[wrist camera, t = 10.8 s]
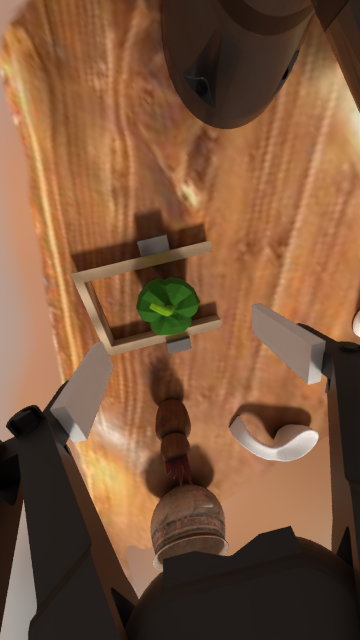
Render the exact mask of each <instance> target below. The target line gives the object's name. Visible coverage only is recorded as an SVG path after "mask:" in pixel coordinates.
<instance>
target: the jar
mask: <svg viewBox="0 0 360 640" xmlns="http://www.w3.org/2000/svg"><path fill="white" fill-rule="evenodd" d="M353 331H354V333H355V334H356V335H357V336H359V337H360V310H359V312H358V313H357V315H356V316H355V318H354V321H353Z"/></svg>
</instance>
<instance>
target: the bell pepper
mask: <svg viewBox="0 0 360 640" xmlns="http://www.w3.org/2000/svg"><path fill="white" fill-rule="evenodd" d="M199 303H200V301H199V298H198V296H197V294H196V292H195V290H194V288H193V287H191V286H190V285H189V284H188V283H186V282H185V281H184V280H183V279H181V278H177V277H168V278H166V279H165V280H164V279H161V278H157V279H154V280H152V281H150V282H148V283H147V284H146V285H145V287H144V288H143V289H142V291H141V292H140V294H139V297H138V302H137V307H136V309H137V311H138V313H139V315H140V317H141V319H142V320H143V321H146V322H150V327H151V330H153V331H154V332H155V333H156V334H158V335H160V336H161V335H173V334H177V333H182V332H185V331H186V330H187V328H188V327H189V326H190V325H191V324H192V319H191V316H193V315H194V314H195V313H196V312H197V309H198V306H199Z"/></svg>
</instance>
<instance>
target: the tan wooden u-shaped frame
mask: <svg viewBox="0 0 360 640" xmlns="http://www.w3.org/2000/svg"><path fill="white" fill-rule="evenodd" d="M137 244H138V247H139V251H140V254H141V257H139V258H134V259H130V260H126V261H122V262H118V263H113V264H109V265H105V266H101V267H97V268H93V269H88V270H84V271H80V272H76V273H73V274H71V276H72V278H73V280H74V283H75V285H76V287H77V289H78V291H79V294H80V296H81V298H82V300H83V303H84V305H85V307H86V309H87V311H88V314H89V316H90V318H91V320H92V323H93V325H94V327H95V329H96V331H97V334H98V336H99V338H100V340H101V342H103V344H104V346H105V349H106V351H107V353H108V355H109V356H111V355H115V354H119V353H123V352H127V351H131V350H134V349H138V348H142V347H146V346H150V345H154V344H158V343H162V342H166V344H167V348H168V351H169V354H172V353H176V352H180V351H184V350H188V349H191V348H192V346H191V342H190V338H189V335H193V334H197V333H201V332H205V331H209V330H213V329H217V328H221V327H222V322H221V319H220V318H219V316H218V315H217V314H216V315H212V316H208V317H204V318H200V319H196V320H192V324H191V325H190V326H189V327H188V328H187V330H186V331H185V332H182V333H177V334H173V335H161V336H160V335H158V334H156V333H155V332H154V331H149V332H145V333H141V334H137V335H133V336H129V337H125V338H121V339H117V340H114V337H113V335H112V332H111V330H110V328H109V325H108V323H107V320H106V318H105V316H104V313H103V311H102V308H101V306H100V303H99V301H98V299H97V296H96V294H95V291H94V289H93V287H92V284H91V282H90V281H92V280H97V279H101V278H105V277H109V276H113V275H117V274H122V273H126V272H130V271H134V270H138V269H142V268H146V267H151V266H155V265H159V264H163V263H167V262H171V261H175V260H180V259H184V258H188V257H192V256H196V255H200V254H204V253H209V252H212V250H211V243H210V241H205V242H201V243H197V244H193V245H189V246H185V247H180V248H176V249H172V250H170V248H169V244H168V240H167V235H164V236H159V237H155V238H151V239H147V240H142V241H138V242H137Z"/></svg>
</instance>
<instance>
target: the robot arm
mask: <svg viewBox="0 0 360 640" xmlns="http://www.w3.org/2000/svg"><path fill="white" fill-rule="evenodd" d="M315 12H316V14H317V16H318V18H319V20H320V23H321V25H322V27H323V29H324V33H325V35H326V37H327V39H328V41H329V43H330V46H331V48H332V50H333V52H334V55H335V57H336V59H337V61H338V64H339V66H340V68H341V71H342V73H343V75H344V78H345V80H346V82H347V85H348V87H349V89H350V92H351V94H352V96H353V98H354V101H355V103H356V105H357V108H358V110H359V112H360V0H349V1H348V0H163V17H162V35H163V47H164V54H165V59H166V63H167V68H168V71H169V74H170V77H171V80H172V82H173V85H174V87H175V89H176V91H177V93H178V95H179V97H180V98H181V100H182V101H183V103H184V104H185V105H186V107H187V108H188V109H189V110H190V111H191V112H192V113H193V114H194V115H195V116H196V117H197V118H198V119H200V120H201V121H202V122H204V123H206V124H208V125H210V126H213V127H216V128H221V129H232V128H237V127H241V126H243V125H245V124H247V123H249V122H251V121H252V120H254V119H255V118H257V117H258V116H259V115H260V114H261V113H262V112H263V111H264V110H265V109H266V108H267V106H268V105H269V104H270V103H271V101H272V100H273V99H274V97H275V96H276V95H277V94H278V92H279V91H280V89H281V88H282V86H283V85H284V83H285V81H286V80H287V78H288V76H289V74H290V72H291V70H292V68H293V66H294V63H295V61H296V59H297V56H298V53H299V50H300V48H301V46H302V44H303V41H304V39H305V36H306V34H307V32H308V29H309V27H310V24H311V22H312V19H313V17H314V14H315ZM252 322H253V333H254V334H255V335H256V336H257V337H258V338H259V339H260V340H261V341H262V342H263V343H264V344H265V345H266V346H267V347H269V348H270V349H271V350H272V351H273V352H274V353H275V354H276V355H277V356H278V357H279V358H280V359H281V360H282V361H283V362H284V363H285V364H286V365H288V366H289V367H290V368H291V369H292V370H293V371H294V372H295V373H296V374H297V375H298V376H299V377H300V378H301V379H302V380H303V381H304V382H306V383H307V384H312V383H316V382H320V381H321V374H323V375H325V376H326V377H327V384H326V391H325V393H327V399H328V422H329V445H330V467H331V489H332V513H333V525H332V551H330V550H328V549H327V548H325V547H323V546H322V545H320V544H318V543H316V542H313V541H311V540H308V539H305V538H302V537H296V536H295V534H294V532H293V530H292V528H291V526H288V527H285V528H281V529H277V530H273V531H269V532H266V533H262V534H259V535H258V536H256V537H255V538H254V539H253V540H251V541H250V542H249V543H247V544H246V545H245V546H244V547H242V548H241V549H240V550H238V551H237V552H236V553H235V554H233V555H231V556H223V555H217V554H211V553H205V552H199V551H192V552H188V553H184V554H180V555H176V556H173V557H169V558H165V559H163V571H162V572H161V573H160V574H159V575H158V576H157V577H156V578H155V579H154V580H153V581H152V582H151V583H150V585H149V586H148V587H147V588H146V590H145V591H144V593H143V594H142V596H141V597H140V599H138V597H137V595H136V593H135V591H134V589H133V587H132V585H131V584H130V582H129V581H128V579H127V577H126V575H125V574H124V572H123V569H122V567H121V565H120V563H119V560H118V558H117V556H116V554H115V551H114V549H113V547H112V545H111V542H110V540H109V538H108V535H107V533H106V531H105V529H104V526H103V524H102V522H101V520H100V517H99V515H98V513H97V510H96V508H95V506H94V504H93V501H92V499H91V497H90V495H89V492H88V490H87V488H86V485H85V483H84V481H83V479H82V476H81V474H80V472H79V470H78V467H77V465H76V463H75V461H74V458H73V456H72V454H71V451H70V449H69V447H68V446H67V444H66V442H67V440H68V438H69V437H70V438H71V440H72V441H73V442H74V443H76V442H80V441H84V440H87V438H88V436H89V433H90V430H91V428H92V425H93V422H94V420H95V417H96V414H97V412H98V409H99V406H100V403H101V401H102V398H103V395H104V393H105V390H106V387H107V385H108V382H109V379H110V376H111V374H112V371H113V368H114V366H113V364H112V362H111V360H110V357H109V355H108V353H107V351H106V349H105V346H104V344H103V342H99V343H94V344H93V345H92V347H91V348H90V350H89V351H88V353H87V354H86V356H85V357H84V359H83V360H82V362H81V363H80V365H79V366H78V368H77V369H76V371H75V372H74V374H73V375H72V377H71V378H70V380H68V381H66V382H65V383H64V384H63V385H62V386H61V387H60V388H59V389H58V391H57V392H56V394H55V395H54V397H53V398H52V400H51V401H50V402H49V404H48V405H47V407H46V408H45V409H44V411H43V412H42V411H41V410H40V409H39V407H38V406H36V405H31V406H28V407H26V408H24V409H22V410H20V411H19V412H17V413H16V414H15V415H14V416H13V417H12V418H11V419H10V420H9V421H8V422H7V425H6V427H7V428H8V429H9V430H10V432H11V433H12V434H13V435H14V436H15V437H13V438H11V439H9V440H7V441H5V442H2V441H1V440H0V632H1V626H2V620H3V615H4V609H5V603H6V597H7V591H8V586H9V580H10V574H11V568H12V562H13V557H14V551H15V545H16V540H17V534H18V528H19V522H20V517H21V511H22V505H23V499H24V504H25V512H26V520H27V528H28V535H29V544H30V551H31V559H32V568H33V575H34V583H35V591H36V599H37V611H36V614H35V615H34V617H33V618H32V620H31V622H30V626H29V631H28V640H360V345H359V344H356V343H352V342H343V341H341V342H337V341H335V340H333V339H331V338H329V337H328V336H326V335H324V334H322V333H320V332H319V331H317V330H314V329H313V328H311V327H309V326H307V325H304V324H300V323H298V324H295V323H293V322H292V321H290V320H288V319H286V318H285V317H283V316H281V315H280V314H278V313H276V312H274V311H273V310H271V309H269V308H268V307H266V306H264V305H262V304H261V303H259V304H255V305H252Z"/></svg>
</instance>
